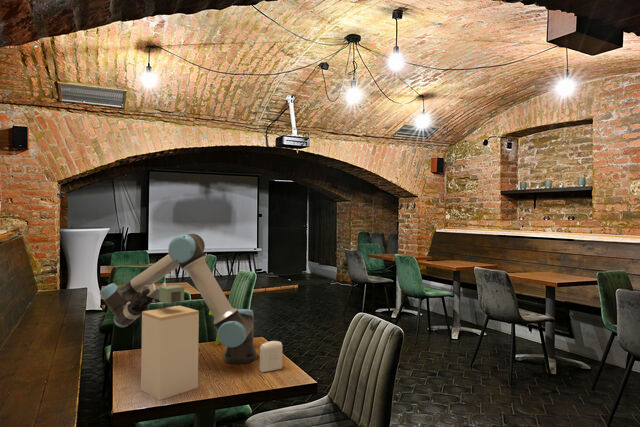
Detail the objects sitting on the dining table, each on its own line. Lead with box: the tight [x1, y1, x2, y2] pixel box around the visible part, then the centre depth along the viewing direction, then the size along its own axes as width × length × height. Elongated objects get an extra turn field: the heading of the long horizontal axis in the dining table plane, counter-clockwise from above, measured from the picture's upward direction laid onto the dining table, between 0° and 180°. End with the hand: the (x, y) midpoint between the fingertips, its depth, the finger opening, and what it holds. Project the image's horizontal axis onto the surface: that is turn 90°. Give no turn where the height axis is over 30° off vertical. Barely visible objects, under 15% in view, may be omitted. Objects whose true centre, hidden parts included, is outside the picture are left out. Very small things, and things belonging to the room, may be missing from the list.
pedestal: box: [140, 305, 200, 401], centre depth 172 cm, size 14×16×30 cm
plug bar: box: [143, 284, 185, 304], centre depth 177 cm, size 22×7×6 cm, turn 48°
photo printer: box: [259, 340, 283, 373], centre depth 194 cm, size 10×4×12 cm, turn 123°
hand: (159, 286), depth 178 cm, fingers closed on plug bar, 4 cm apart
